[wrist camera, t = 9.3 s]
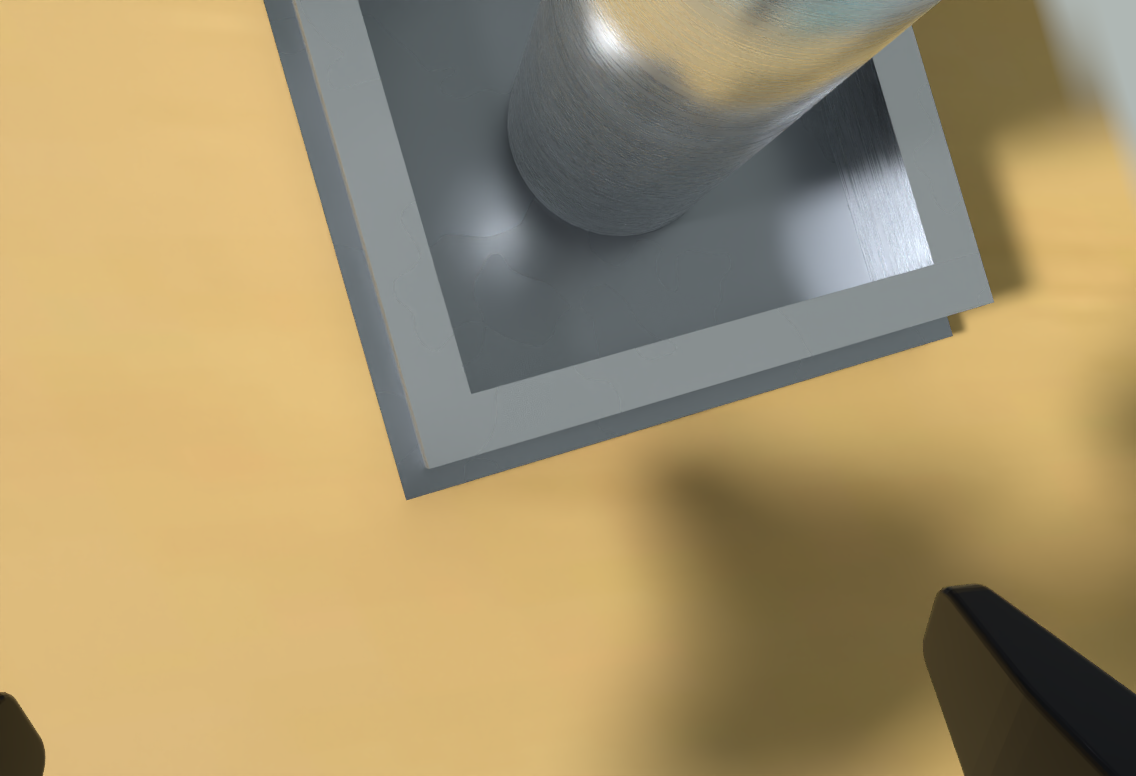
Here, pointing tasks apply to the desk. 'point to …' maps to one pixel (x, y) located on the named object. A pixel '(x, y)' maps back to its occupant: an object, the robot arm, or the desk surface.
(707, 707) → the desk surface
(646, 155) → the silver metal cylinder
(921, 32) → the desk surface
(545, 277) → the square metal tray
